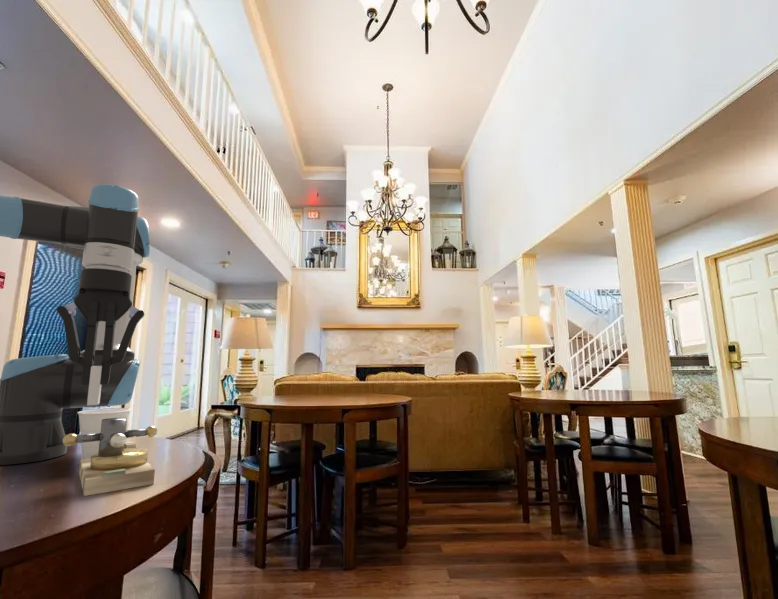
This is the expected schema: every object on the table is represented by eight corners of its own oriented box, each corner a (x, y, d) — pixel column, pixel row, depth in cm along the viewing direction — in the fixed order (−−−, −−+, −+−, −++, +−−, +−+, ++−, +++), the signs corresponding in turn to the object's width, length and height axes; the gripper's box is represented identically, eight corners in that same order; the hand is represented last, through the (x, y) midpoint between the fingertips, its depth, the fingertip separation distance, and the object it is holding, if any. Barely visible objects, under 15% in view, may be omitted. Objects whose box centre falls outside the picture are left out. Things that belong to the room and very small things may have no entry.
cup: (98, 469, 82) (104, 413, 84) (59, 466, 84) (65, 412, 86) (137, 457, 92) (141, 408, 93) (101, 455, 94) (106, 407, 95)
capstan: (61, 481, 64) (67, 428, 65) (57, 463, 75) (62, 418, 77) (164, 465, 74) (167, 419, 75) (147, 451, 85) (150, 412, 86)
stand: (78, 472, 79) (81, 447, 80) (137, 464, 86) (139, 440, 86) (84, 496, 66) (87, 464, 66) (153, 484, 72) (155, 455, 73)
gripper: (57, 262, 66) (39, 409, 63) (148, 271, 72) (136, 404, 69) (66, 270, 73) (50, 403, 70) (149, 277, 79) (138, 399, 76)
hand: (93, 404), depth 69 cm, fingers closed
